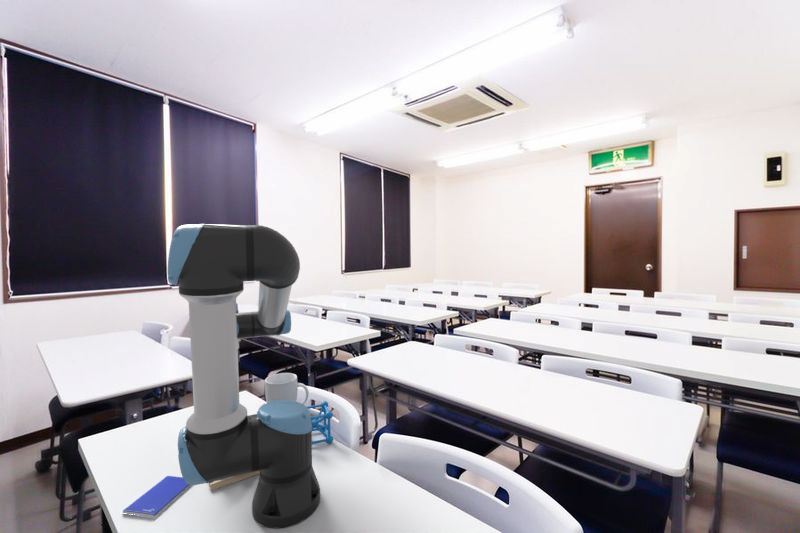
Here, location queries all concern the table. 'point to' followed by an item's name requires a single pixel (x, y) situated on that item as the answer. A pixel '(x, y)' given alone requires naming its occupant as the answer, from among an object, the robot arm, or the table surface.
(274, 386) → the mug
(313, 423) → the molecular structure
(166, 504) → the hard drive
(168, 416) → the table surface
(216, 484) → the wooden base mechanism
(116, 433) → the table surface
